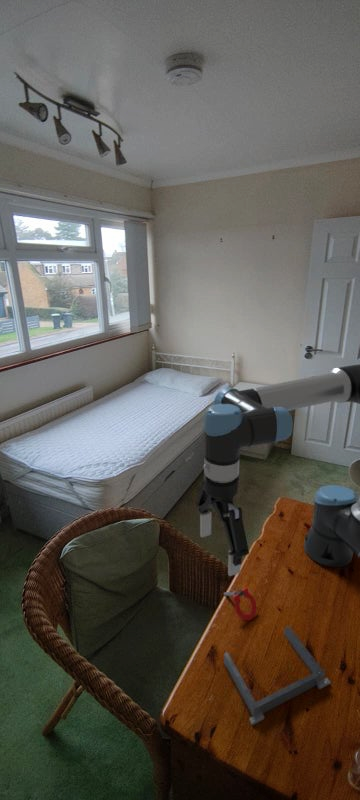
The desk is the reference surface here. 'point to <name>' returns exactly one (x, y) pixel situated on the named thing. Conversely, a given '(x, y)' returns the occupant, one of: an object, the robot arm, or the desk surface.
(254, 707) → the bracket
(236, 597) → the tow hook
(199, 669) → the desk surface
